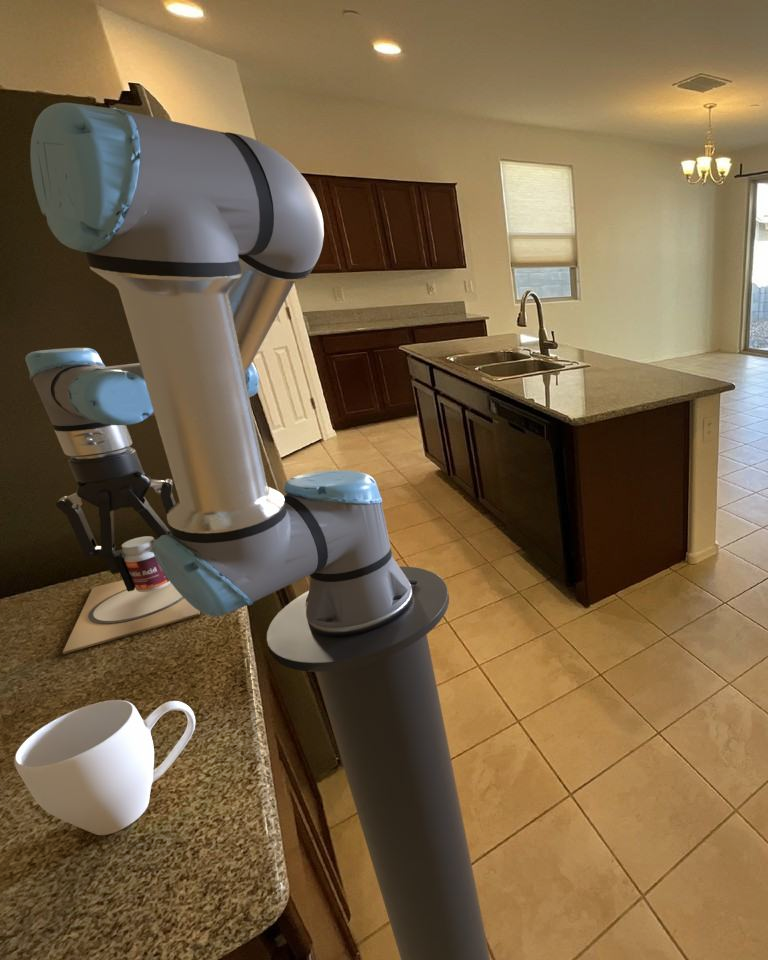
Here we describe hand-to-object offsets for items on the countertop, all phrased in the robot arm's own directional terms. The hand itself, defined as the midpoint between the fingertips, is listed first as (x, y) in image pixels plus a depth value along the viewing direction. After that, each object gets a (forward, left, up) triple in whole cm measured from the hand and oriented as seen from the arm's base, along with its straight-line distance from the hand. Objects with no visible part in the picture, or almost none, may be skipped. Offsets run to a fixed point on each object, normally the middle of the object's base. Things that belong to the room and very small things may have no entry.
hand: (153, 581), depth 88 cm
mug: (-3, +48, -4) cm, 48 cm away
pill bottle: (0, 0, -1) cm, 1 cm away
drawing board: (+2, -2, -4) cm, 5 cm away
